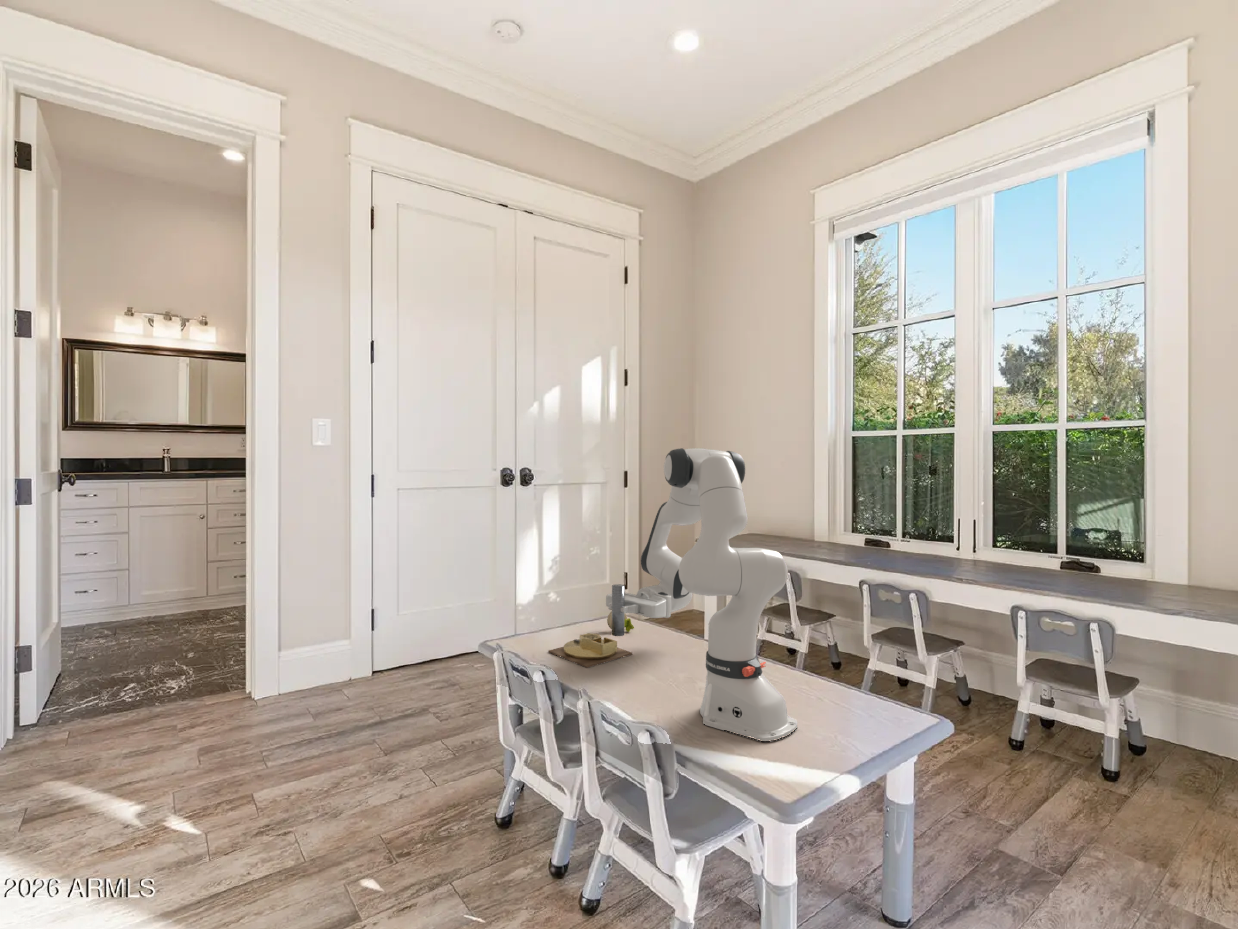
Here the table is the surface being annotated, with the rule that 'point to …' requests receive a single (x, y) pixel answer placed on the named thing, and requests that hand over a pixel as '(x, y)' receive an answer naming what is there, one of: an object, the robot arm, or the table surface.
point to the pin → (618, 609)
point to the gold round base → (591, 647)
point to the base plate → (590, 663)
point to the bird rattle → (626, 622)
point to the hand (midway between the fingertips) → (615, 608)
